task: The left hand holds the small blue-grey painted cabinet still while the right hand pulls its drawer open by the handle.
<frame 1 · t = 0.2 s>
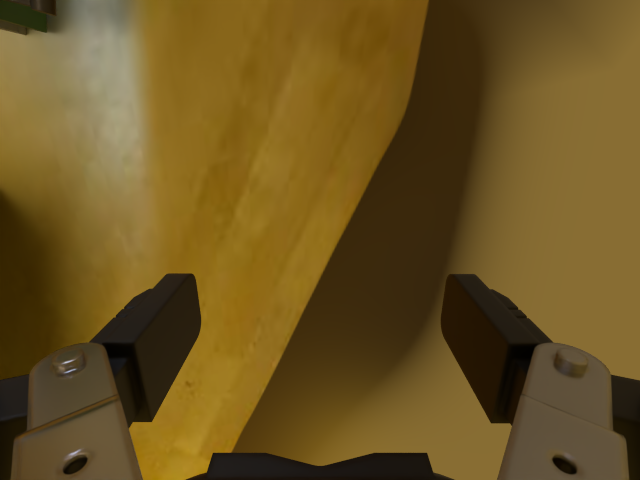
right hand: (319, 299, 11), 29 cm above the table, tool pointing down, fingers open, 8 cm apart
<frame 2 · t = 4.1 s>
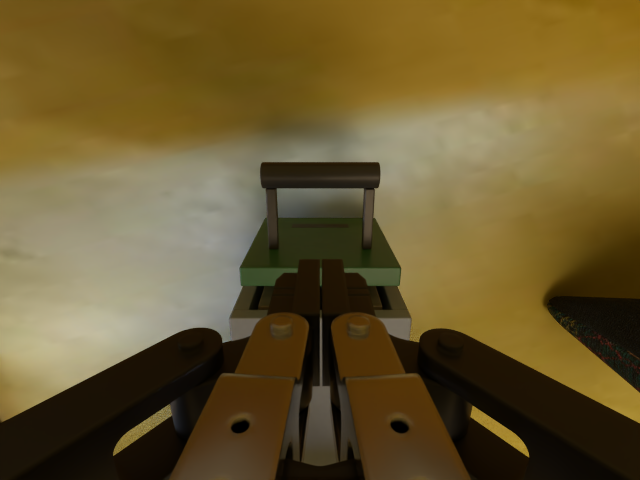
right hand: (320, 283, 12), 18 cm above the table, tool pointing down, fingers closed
cabinet: (320, 326, 34), on the table, touching left hand
drawer: (320, 303, 26), point 6 cm above the table, slide at 1.5 cm
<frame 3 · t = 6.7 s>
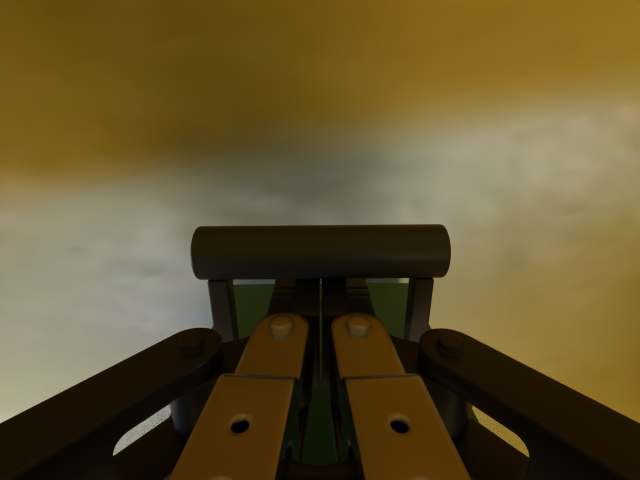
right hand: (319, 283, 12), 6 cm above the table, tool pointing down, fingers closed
drawer: (321, 441, 15), point 6 cm above the table, slide at 1.8 cm, touching right hand
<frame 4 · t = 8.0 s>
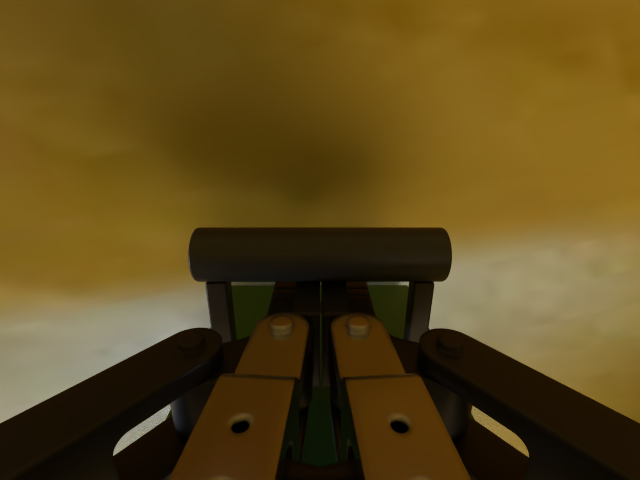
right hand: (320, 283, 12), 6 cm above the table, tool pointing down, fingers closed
drawer: (319, 444, 15), point 6 cm above the table, slide at 8.2 cm, touching right hand
when the left hand's fingers open (7 cm above the table, at t = 9.8 s): cabinet stays where it is, on the table.
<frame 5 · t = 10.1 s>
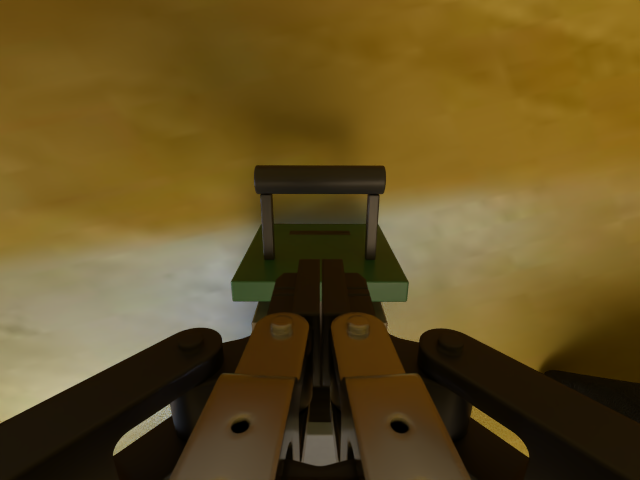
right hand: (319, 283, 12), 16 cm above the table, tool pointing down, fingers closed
cabinet: (319, 394, 34), on the table
drawer: (319, 316, 24), point 6 cm above the table, slide at 8.3 cm
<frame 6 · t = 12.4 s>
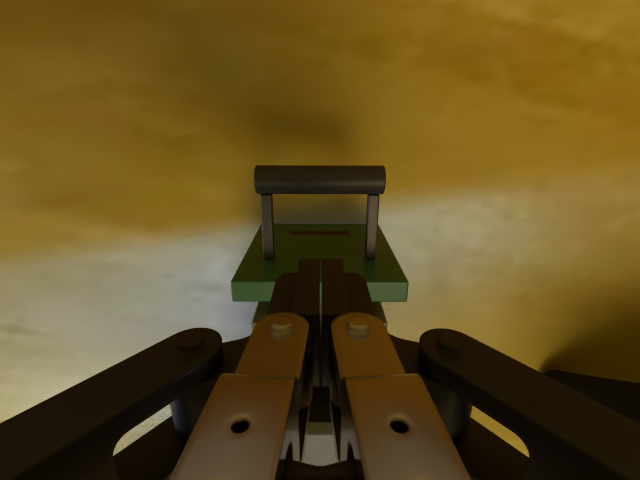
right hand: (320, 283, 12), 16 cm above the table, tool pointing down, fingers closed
cabinet: (319, 394, 34), on the table
drawer: (319, 316, 24), point 6 cm above the table, slide at 8.3 cm
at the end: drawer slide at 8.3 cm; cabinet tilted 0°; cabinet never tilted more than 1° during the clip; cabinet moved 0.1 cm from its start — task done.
